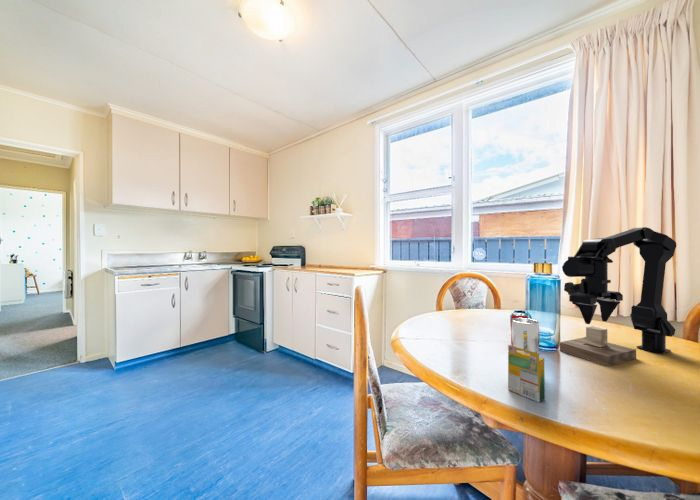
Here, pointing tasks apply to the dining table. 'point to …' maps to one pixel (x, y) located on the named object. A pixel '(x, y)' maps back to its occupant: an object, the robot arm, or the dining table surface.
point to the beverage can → (516, 315)
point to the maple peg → (596, 337)
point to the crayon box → (526, 374)
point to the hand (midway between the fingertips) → (596, 322)
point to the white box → (525, 334)
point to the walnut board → (598, 352)
